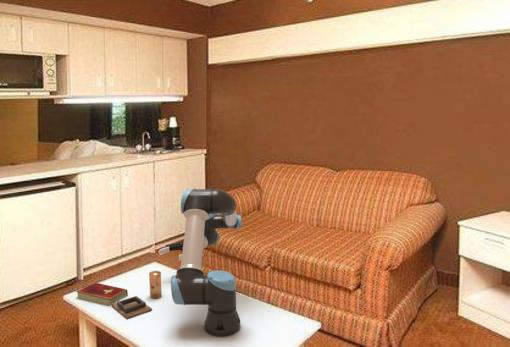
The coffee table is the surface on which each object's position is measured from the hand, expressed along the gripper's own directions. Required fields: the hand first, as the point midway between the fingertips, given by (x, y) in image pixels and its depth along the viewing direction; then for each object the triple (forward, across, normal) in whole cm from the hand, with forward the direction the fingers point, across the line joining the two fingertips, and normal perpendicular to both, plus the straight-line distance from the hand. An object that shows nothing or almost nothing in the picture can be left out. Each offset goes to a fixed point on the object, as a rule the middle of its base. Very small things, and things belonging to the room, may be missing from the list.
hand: (169, 255), depth 213 cm
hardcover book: (+25, +21, -18) cm, 37 cm away
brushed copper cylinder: (+10, 0, -18) cm, 20 cm away
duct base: (+25, 0, -17) cm, 31 cm away
